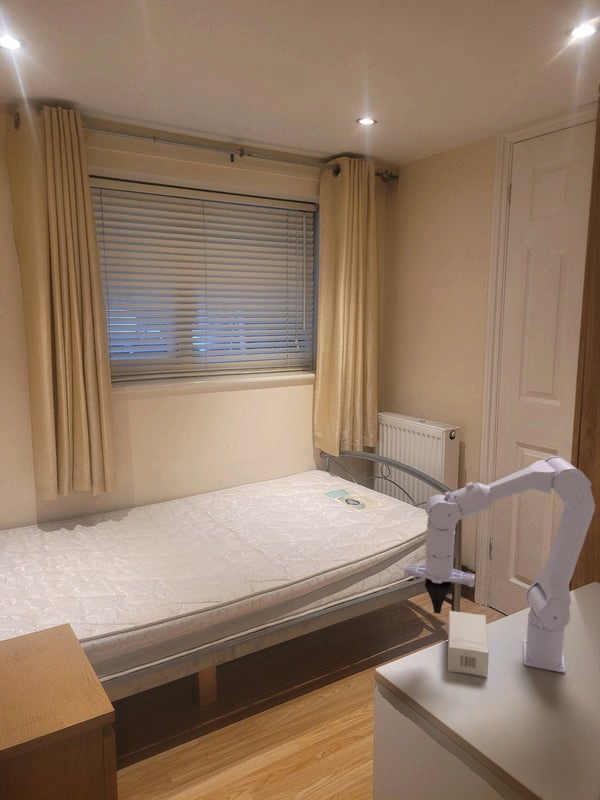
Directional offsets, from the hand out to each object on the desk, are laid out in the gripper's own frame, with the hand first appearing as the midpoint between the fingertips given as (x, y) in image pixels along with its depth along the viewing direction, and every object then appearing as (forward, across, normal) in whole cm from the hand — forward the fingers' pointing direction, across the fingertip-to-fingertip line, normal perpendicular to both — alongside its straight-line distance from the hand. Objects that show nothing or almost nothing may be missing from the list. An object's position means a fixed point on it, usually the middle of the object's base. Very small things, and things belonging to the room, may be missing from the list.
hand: (437, 611), depth 125 cm
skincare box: (+7, +7, -5) cm, 11 cm away
